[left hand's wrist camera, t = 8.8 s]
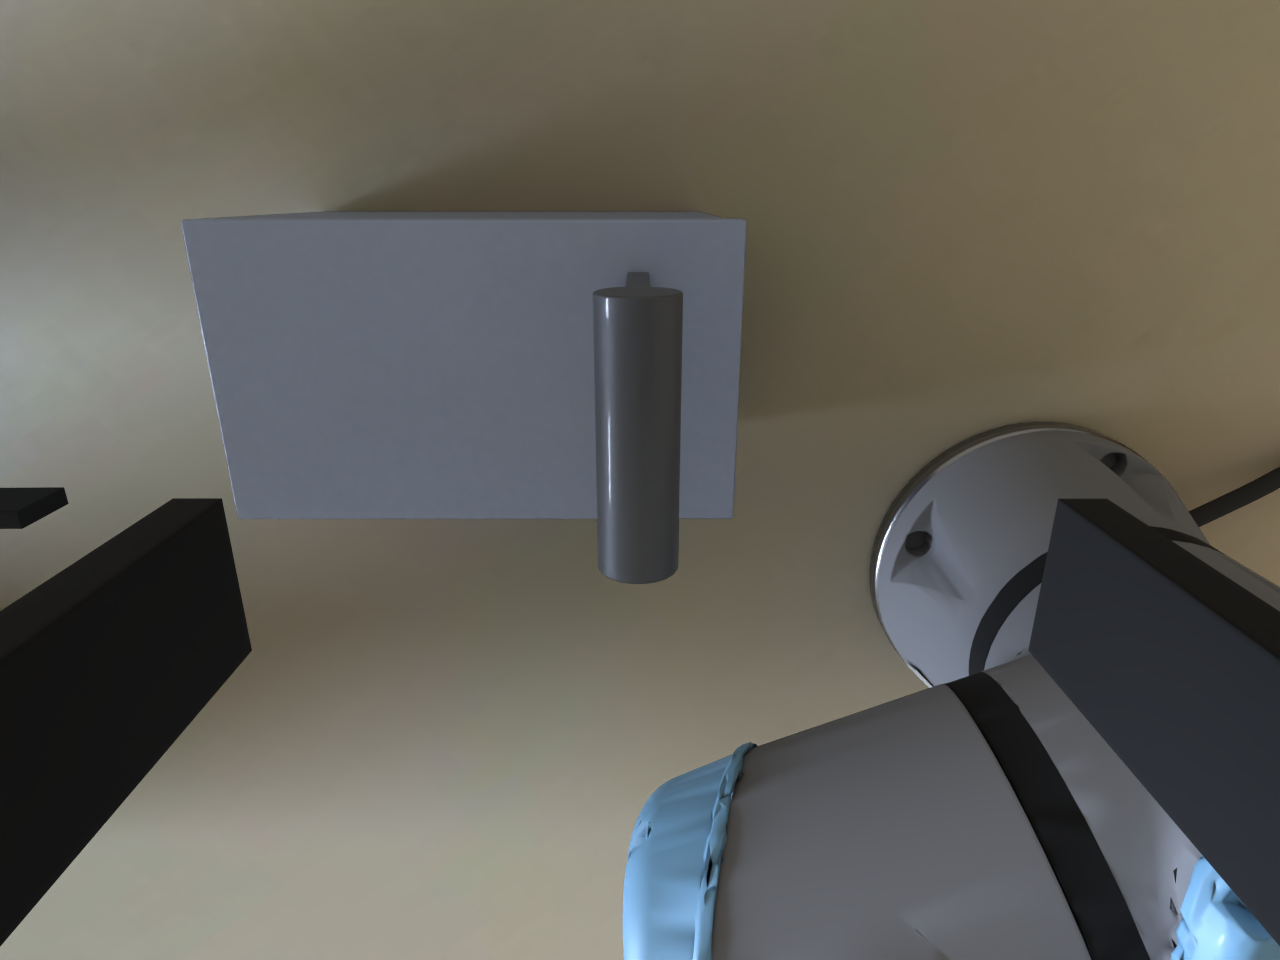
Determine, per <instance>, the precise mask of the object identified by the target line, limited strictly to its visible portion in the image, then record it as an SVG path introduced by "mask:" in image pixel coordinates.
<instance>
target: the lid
mask: <svg viewBox="0 0 1280 960" xmlns="http://www.w3.org/2000/svg"><path fill="white" fill-rule="evenodd" d="M181 225H182V231H183V236H184V241H185V246H186V251H187V257H188V262H189V267H190V272H191V277H192V283H193V288H194V293H195V298H196V303H197V309H198V314H199V319H200V324H201V330H202V335H203V340H204V345H205V350H206V356H207V361H208V366H209V371H210V376H211V382H212V387H213V392H214V397H215V402H216V408H217V413H218V418H219V423H220V428H221V434H222V439H223V444H224V449H225V454H226V460H227V465H228V470H229V475H230V480H231V486H232V491H233V496H234V501H235V506H236V512H237V517H238V519H597V531H598V567H599V570H600V571H601V573H602V574H603V575H605V576H606V577H608V578H610V579H612V580H615V581H618V582H622V583H629V584H647V583H654V582H658V581H661V580H664V579H667V578H669V577H670V576H672V575H673V574H674V573H675V572H676V570H677V568H678V548H679V519H731V518H733V513H734V491H735V468H736V446H737V423H738V401H739V378H740V356H741V333H742V311H743V288H744V266H745V244H746V220H743V219H186V220H182V221H181Z"/></svg>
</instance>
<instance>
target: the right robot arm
mask: <svg viewBox="0 0 1280 960" xmlns="http://www.w3.org/2000/svg"><path fill="white" fill-rule="evenodd" d="M67 504H68V500H67V497H66V493H65V490H64V488H0V529H23V528H24V527H26V526H28V525H30V524H32V523H34V522H36V521H37V520H39V519H41V518H43V517H45V516H47V515H48V514H50V513H52V512H54V511H56V510H58V509H59V508H61V507H63V506H65V505H67Z"/></svg>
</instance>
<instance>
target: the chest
mask: <svg viewBox="0 0 1280 960" xmlns="http://www.w3.org/2000/svg"><path fill="white" fill-rule="evenodd" d="M204 219H724V218H720V217H717V216H713V215H710V214H707V213H703V212H307V213H290V214H272V215H255V216H237V217H219V218H204Z"/></svg>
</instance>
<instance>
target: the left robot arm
mask: <svg viewBox="0 0 1280 960" xmlns="http://www.w3.org/2000/svg"><path fill="white" fill-rule="evenodd" d="M1279 488H1280V467H1278V468H1277V469H1275V470H1273V471H1271V472H1269V473H1267V474H1265V475H1263V476H1262V477H1260V478H1258V479H1256V480H1254V481H1252V482H1250V483H1248V484H1246V485H1244V486H1242V487H1240V488H1238V489H1236V490H1234V491H1232V492H1230V493H1227V494H1225V495H1223V496H1221V497H1219V498H1217V499H1215V500H1213V501H1210V502H1208V503H1206V504H1204V505H1202V506H1200V507H1198V508H1196V509H1193V510H1191V511H1189V512H1188V510H1187V509H1186V507H1185V505H1184V504H1183V502H1182V501H1181V499H1180V498H1179V496H1178V495H1177V493H1176V491H1175V490H1174V488H1173V487H1172V486H1171V484H1170V483H1169V482H1168V481H1167V479H1166V478H1165V477H1164V476H1163V475H1162V474H1161V473H1160V472H1159V471H1158V470H1156V469H1155V468H1154V467H1153V466H1152V465H1151V464H1150V463H1148V462H1147V461H1146V460H1145V459H1144V458H1143V457H1141V456H1140V455H1139V454H1137V453H1136V452H1135V451H1133V450H1131V449H1130V448H1128V447H1126V446H1124V445H1123V444H1121V443H1119V442H1117V441H1115V440H1113V439H1111V438H1109V437H1107V436H1105V435H1103V434H1101V433H1098V432H1096V431H1093V430H1090V429H1087V428H1084V427H1080V426H1076V425H1071V424H1065V423H1055V422H1031V423H1020V424H1015V425H1009V426H1004V427H1001V428H997V429H993V430H990V431H987V432H984V433H981V434H979V435H976V436H974V437H971V438H969V439H967V440H965V441H963V442H961V443H959V444H957V445H955V446H954V447H952V448H950V449H949V450H947V451H945V452H944V453H942V454H941V455H940V456H938V457H937V458H935V459H934V460H933V461H931V462H930V463H929V464H928V465H926V466H925V467H924V468H923V469H922V470H921V471H920V472H919V473H918V474H917V475H916V476H915V477H914V478H913V479H911V480H910V482H909V483H908V484H907V485H906V486H905V488H904V489H903V490H902V491H901V492H900V494H899V495H898V497H897V498H896V499H895V501H894V502H893V504H892V505H891V507H890V509H889V510H888V512H887V514H886V516H885V518H884V520H883V522H882V524H881V526H880V529H879V531H878V534H877V537H876V540H875V543H874V547H873V552H872V556H871V564H870V589H871V596H872V601H873V605H874V609H875V611H876V614H877V617H878V619H879V622H880V624H881V626H882V628H883V630H884V631H885V633H886V635H887V637H888V639H889V640H890V642H891V644H892V645H893V647H894V648H895V650H896V651H897V653H898V654H899V655H900V656H901V658H902V659H903V660H904V661H905V662H906V663H907V664H908V665H907V664H906V663H905V664H906V665H907V666H908V667H909V668H910V669H911V670H912V671H913V672H914V673H915V674H916V675H917V676H918V677H919V678H920V679H921V680H922V681H923V682H924V683H925V684H926V685H927V686H928V687H929V688H928V689H925V690H922V691H919V692H916V693H913V694H910V695H908V696H905V697H902V698H899V699H896V700H893V701H890V702H887V703H884V704H881V705H878V706H875V707H872V708H869V709H866V710H863V711H861V712H858V713H855V714H852V715H849V716H846V717H843V718H840V719H837V720H834V721H831V722H828V723H825V724H822V725H819V726H816V727H813V728H811V729H808V730H805V731H802V732H799V733H796V734H793V735H790V736H787V737H784V738H781V739H778V740H775V741H772V742H769V743H766V744H763V745H761V746H757V745H756V744H753V743H751V742H749V743H746V744H743V745H741V746H740V747H738V748H737V749H736V750H735V752H734V753H733V754H732V755H730V756H727V757H725V758H722V759H720V760H717V761H715V762H712V763H710V764H707V765H705V766H702V767H700V768H697V769H695V770H692V771H690V772H687V773H685V774H682V775H680V776H677V777H675V778H673V779H671V780H669V781H667V782H665V783H664V784H663V785H661V786H660V787H659V788H658V789H657V790H656V791H655V792H654V793H653V794H652V795H651V796H650V797H649V799H648V800H647V802H646V803H645V805H644V807H643V808H642V810H641V812H640V814H639V816H638V819H637V821H636V824H635V827H634V830H633V834H632V837H631V842H630V847H629V854H628V862H627V865H626V871H625V881H624V897H623V947H624V960H1280V587H1278V586H1277V585H1275V584H1273V583H1272V582H1270V581H1268V580H1267V579H1265V578H1263V577H1262V576H1260V575H1258V574H1257V573H1255V572H1253V571H1252V570H1250V569H1248V568H1247V567H1245V566H1243V565H1241V564H1240V563H1238V562H1237V561H1235V560H1233V559H1231V558H1230V557H1228V556H1226V555H1225V554H1223V553H1222V552H1220V551H1218V550H1217V549H1215V548H1213V547H1212V546H1210V544H1209V543H1208V541H1207V540H1206V538H1205V536H1204V535H1203V533H1202V532H1201V530H1200V529H1199V527H1200V526H1202V525H1205V524H1207V523H1209V522H1211V521H1213V520H1215V519H1217V518H1219V517H1222V516H1224V515H1226V514H1228V513H1230V512H1232V511H1234V510H1236V509H1239V508H1241V507H1243V506H1245V505H1247V504H1249V503H1251V502H1253V501H1255V500H1257V499H1259V498H1261V497H1263V496H1265V495H1267V494H1269V493H1271V492H1273V491H1275V490H1277V489H1279ZM251 651H252V649H251V644H250V639H249V634H248V628H247V623H246V618H245V613H244V608H243V603H242V598H241V593H240V588H239V583H238V578H237V573H236V568H235V563H234V558H233V553H232V548H231V543H230V537H229V532H228V527H227V522H226V517H225V512H224V507H223V502H222V499H172V500H170V501H169V502H167V503H165V504H164V505H162V506H161V507H159V508H158V509H156V510H155V511H153V512H152V513H150V514H149V515H147V516H146V517H144V518H142V519H141V520H139V521H138V522H136V523H135V524H133V525H132V526H130V527H129V528H127V529H126V530H124V531H123V532H121V533H120V534H118V535H116V536H115V537H113V538H112V539H110V540H109V541H107V542H106V543H104V544H103V545H101V546H100V547H98V548H97V549H95V550H93V551H92V552H90V553H89V554H87V555H86V556H84V557H83V558H81V559H80V560H78V561H77V562H75V563H74V564H72V565H71V566H69V567H67V568H66V569H64V570H63V571H61V572H60V573H58V574H57V575H55V576H54V577H52V578H51V579H49V580H48V581H46V582H44V583H43V584H41V585H40V586H38V587H37V588H35V589H34V590H32V591H31V592H29V593H28V594H26V595H25V596H23V597H22V598H20V599H18V600H17V601H15V602H14V603H12V604H11V605H9V606H8V607H6V608H5V609H3V610H2V611H0V946H1V945H2V944H3V943H4V941H5V940H6V939H7V938H8V937H9V936H10V934H11V933H12V932H13V931H14V930H15V928H16V927H17V926H18V925H19V924H20V923H21V921H22V920H23V919H24V918H25V917H26V915H27V914H28V913H29V912H30V911H31V910H32V908H33V907H34V906H35V905H36V904H37V903H38V901H39V900H40V899H41V898H42V897H43V895H44V894H45V893H46V892H47V891H48V890H49V888H50V887H51V886H52V885H53V884H54V883H55V881H56V880H57V879H58V878H59V877H60V875H61V874H62V873H63V872H64V871H65V870H66V868H67V867H68V866H69V865H70V864H71V863H72V861H73V860H74V859H75V858H76V857H77V855H78V854H79V853H80V852H81V851H82V850H83V848H84V847H85V846H86V845H87V844H88V843H89V841H90V840H91V839H92V838H93V837H94V835H95V834H96V833H97V832H98V831H99V830H100V828H101V827H102V826H103V825H104V824H105V823H106V821H107V820H108V819H109V818H110V817H111V815H112V814H113V813H114V812H115V811H116V810H117V808H118V807H119V806H120V805H121V804H122V803H123V801H124V800H125V799H126V798H127V797H128V795H129V794H130V793H131V792H132V791H133V790H134V788H135V787H136V786H137V785H138V784H139V783H140V781H141V780H142V779H143V778H144V777H145V775H146V774H147V773H148V772H149V771H150V770H151V768H152V767H153V766H154V765H155V764H156V763H157V761H158V760H159V759H160V758H161V757H162V755H163V754H164V753H165V752H166V751H167V750H168V748H169V747H170V746H171V745H172V744H173V743H174V741H175V740H176V739H177V738H178V737H179V735H180V734H181V733H182V732H183V731H184V730H185V728H186V727H187V726H188V725H189V724H190V723H191V721H192V720H193V719H194V718H195V717H196V715H197V714H198V713H199V712H200V711H201V710H202V708H203V707H204V706H205V705H206V704H207V703H208V701H209V700H210V699H211V698H212V697H213V695H214V694H215V693H216V692H217V691H218V690H219V688H220V687H221V686H222V685H223V684H224V683H225V681H226V680H227V679H228V678H229V677H230V675H231V674H232V673H233V672H234V671H235V670H236V668H237V667H238V666H239V665H240V664H241V663H242V661H243V660H244V659H245V658H246V657H247V655H248V654H249V653H250V652H251Z"/></svg>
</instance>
